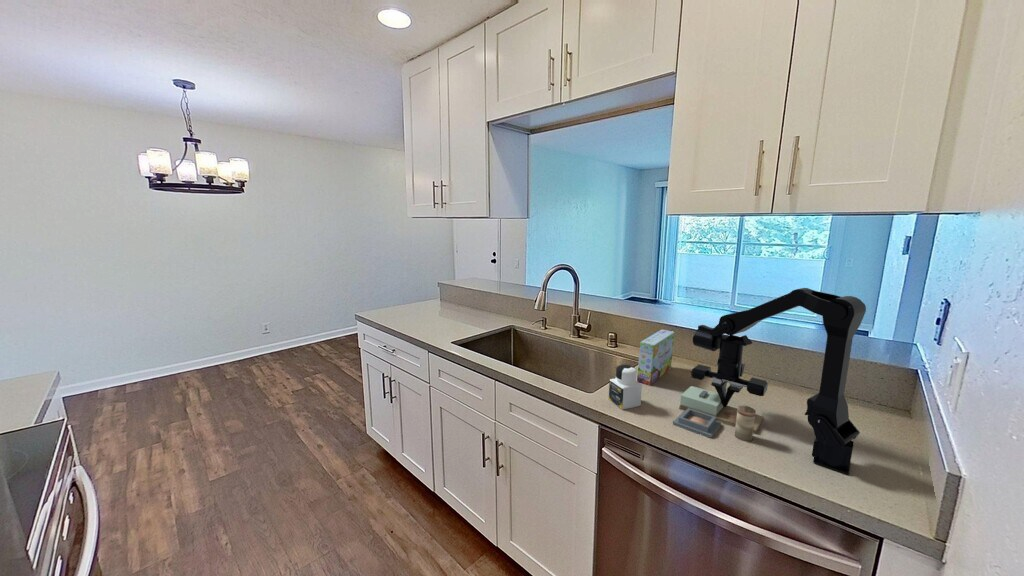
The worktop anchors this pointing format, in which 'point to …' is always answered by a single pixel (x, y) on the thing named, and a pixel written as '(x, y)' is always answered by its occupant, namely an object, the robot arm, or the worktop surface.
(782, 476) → the worktop surface
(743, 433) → the peg
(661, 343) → the snack box
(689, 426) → the blue-grey square tray
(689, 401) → the cover
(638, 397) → the medicine bottle
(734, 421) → the board
